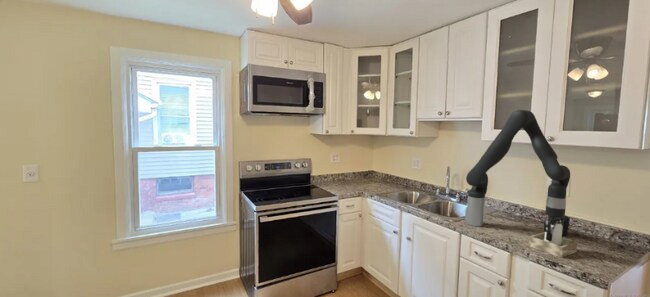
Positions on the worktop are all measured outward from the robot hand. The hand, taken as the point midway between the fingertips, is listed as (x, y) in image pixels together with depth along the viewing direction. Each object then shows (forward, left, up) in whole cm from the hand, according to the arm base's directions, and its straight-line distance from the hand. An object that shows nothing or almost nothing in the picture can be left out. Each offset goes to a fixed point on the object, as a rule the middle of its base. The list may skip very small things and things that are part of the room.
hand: (552, 239), depth 141 cm
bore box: (0, 0, -5) cm, 5 cm away
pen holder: (-10, +28, -5) cm, 30 cm away
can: (0, 0, -3) cm, 3 cm away
